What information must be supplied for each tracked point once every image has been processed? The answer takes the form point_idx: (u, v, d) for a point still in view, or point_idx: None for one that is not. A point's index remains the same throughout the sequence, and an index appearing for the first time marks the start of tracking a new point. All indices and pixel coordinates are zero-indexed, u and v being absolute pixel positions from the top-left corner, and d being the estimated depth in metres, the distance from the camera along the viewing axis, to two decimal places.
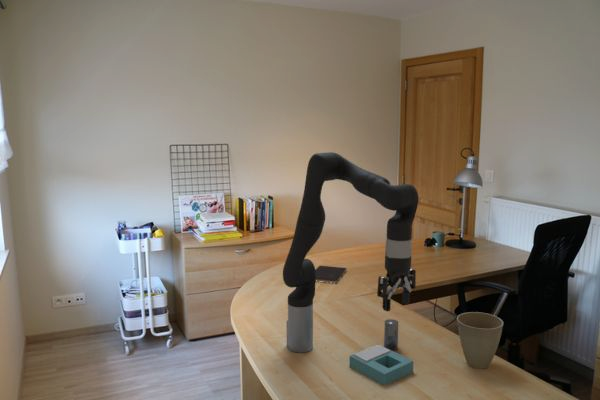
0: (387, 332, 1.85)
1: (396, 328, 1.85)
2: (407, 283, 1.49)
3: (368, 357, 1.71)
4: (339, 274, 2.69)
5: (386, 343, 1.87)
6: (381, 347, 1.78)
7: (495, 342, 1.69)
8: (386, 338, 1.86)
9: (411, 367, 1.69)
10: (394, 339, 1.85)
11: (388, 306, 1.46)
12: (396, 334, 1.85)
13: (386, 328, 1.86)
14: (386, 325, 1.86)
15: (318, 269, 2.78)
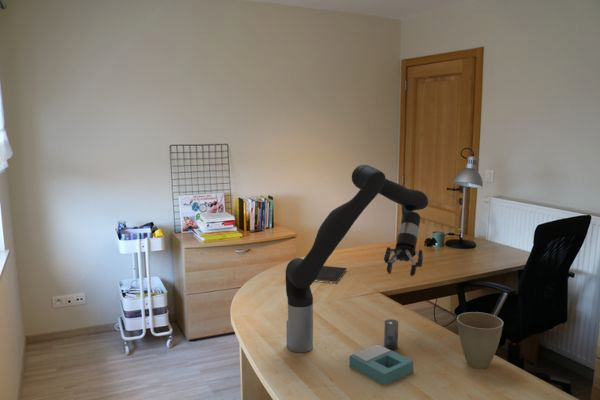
0: (387, 332, 1.85)
1: (396, 328, 1.85)
2: None
3: (368, 357, 1.71)
4: (339, 274, 2.69)
5: (386, 343, 1.87)
6: (381, 347, 1.78)
7: (495, 342, 1.69)
8: (386, 338, 1.86)
9: (411, 367, 1.69)
10: (394, 339, 1.85)
11: None
12: (396, 334, 1.85)
13: (386, 328, 1.86)
14: (386, 325, 1.86)
15: None
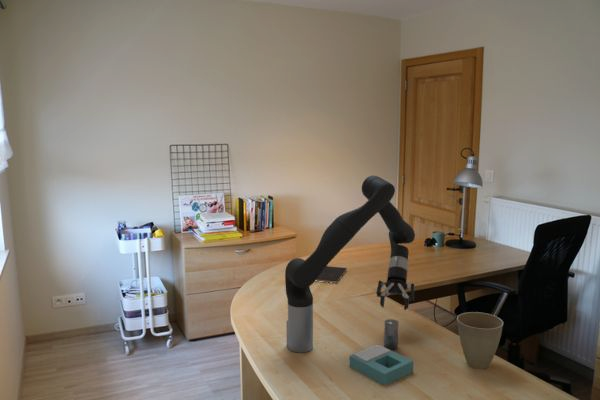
0: (387, 332, 1.85)
1: (396, 328, 1.85)
2: None
3: (368, 357, 1.71)
4: (339, 274, 2.69)
5: (386, 343, 1.87)
6: (381, 347, 1.78)
7: (495, 342, 1.69)
8: (386, 338, 1.86)
9: (411, 367, 1.69)
10: (394, 339, 1.85)
11: None
12: (396, 334, 1.85)
13: (386, 328, 1.86)
14: (386, 325, 1.86)
15: None
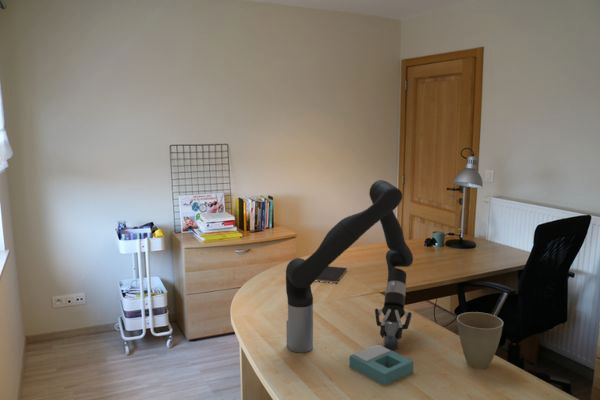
0: (387, 332, 1.85)
1: (396, 328, 1.85)
2: None
3: (368, 357, 1.71)
4: (339, 274, 2.69)
5: (386, 343, 1.87)
6: (381, 347, 1.78)
7: (495, 342, 1.69)
8: (386, 338, 1.86)
9: (411, 367, 1.69)
10: (394, 339, 1.85)
11: None
12: (396, 334, 1.85)
13: (386, 328, 1.86)
14: (386, 325, 1.86)
15: None
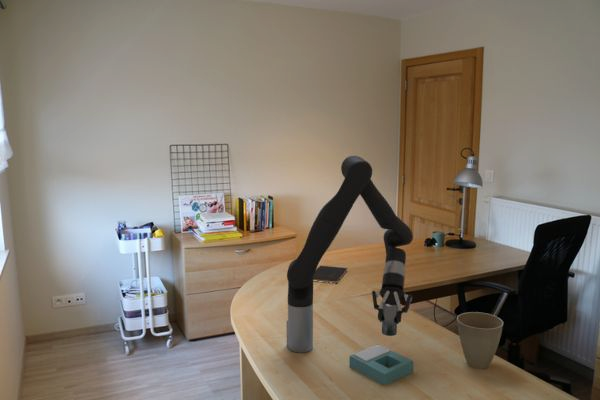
0: (385, 316, 1.69)
1: (395, 311, 1.69)
2: None
3: (368, 357, 1.71)
4: (339, 274, 2.69)
5: (384, 327, 1.71)
6: (381, 347, 1.78)
7: (495, 342, 1.69)
8: (384, 322, 1.70)
9: (411, 367, 1.69)
10: (393, 323, 1.69)
11: None
12: (395, 318, 1.70)
13: (384, 311, 1.70)
14: (384, 308, 1.70)
15: (318, 269, 2.78)
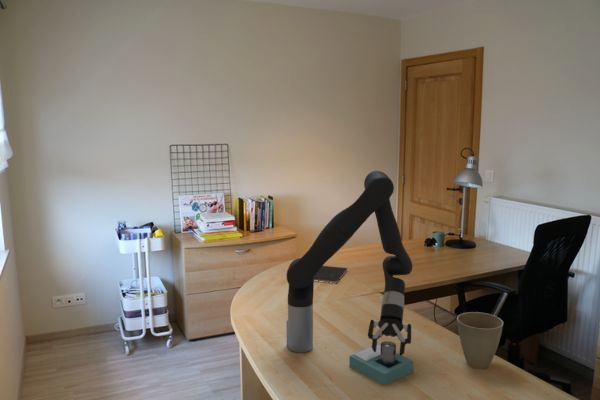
0: (383, 356, 1.67)
1: (393, 352, 1.67)
2: None
3: (368, 357, 1.71)
4: (339, 274, 2.69)
5: None
6: None
7: (495, 342, 1.69)
8: (382, 362, 1.68)
9: (411, 367, 1.69)
10: (391, 364, 1.67)
11: None
12: (393, 358, 1.67)
13: (382, 351, 1.67)
14: (382, 348, 1.67)
15: None
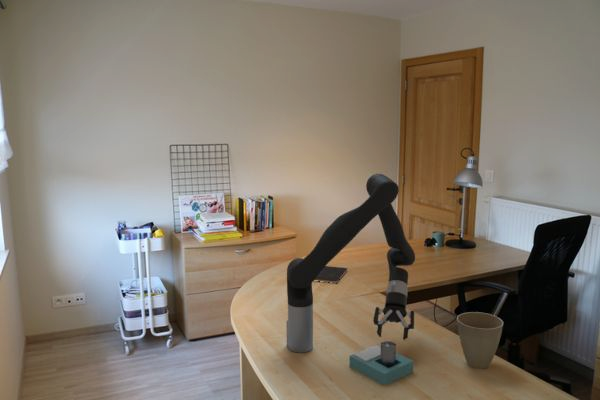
0: (383, 356, 1.67)
1: (393, 351, 1.67)
2: None
3: (368, 357, 1.71)
4: (340, 274, 2.69)
5: None
6: None
7: (495, 342, 1.69)
8: (382, 362, 1.68)
9: (411, 367, 1.69)
10: (391, 364, 1.67)
11: None
12: (393, 358, 1.67)
13: (382, 351, 1.67)
14: (382, 348, 1.67)
15: None
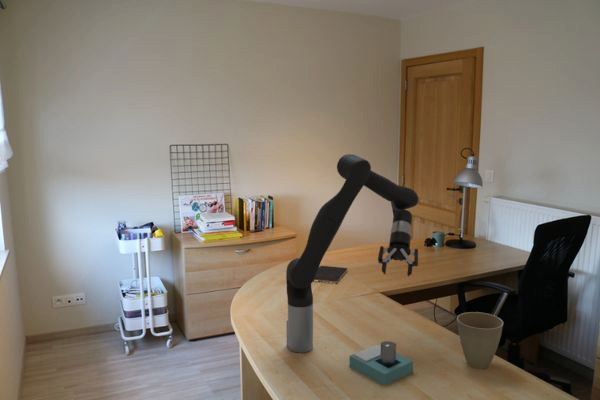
0: (383, 356, 1.67)
1: (393, 351, 1.67)
2: None
3: (368, 357, 1.71)
4: (340, 274, 2.69)
5: None
6: None
7: (495, 342, 1.69)
8: (382, 362, 1.68)
9: (411, 367, 1.69)
10: (391, 364, 1.67)
11: None
12: (393, 358, 1.67)
13: (382, 351, 1.67)
14: (382, 348, 1.67)
15: (319, 269, 2.78)
